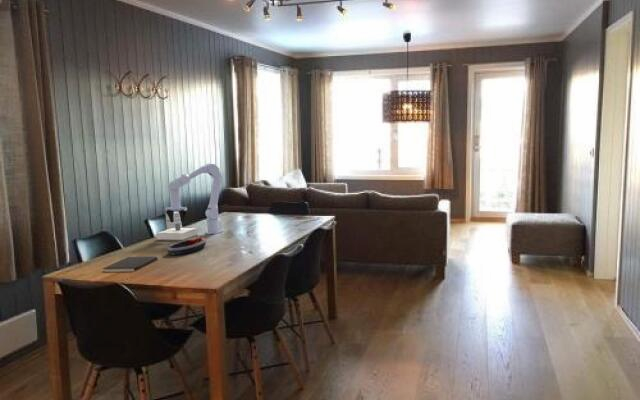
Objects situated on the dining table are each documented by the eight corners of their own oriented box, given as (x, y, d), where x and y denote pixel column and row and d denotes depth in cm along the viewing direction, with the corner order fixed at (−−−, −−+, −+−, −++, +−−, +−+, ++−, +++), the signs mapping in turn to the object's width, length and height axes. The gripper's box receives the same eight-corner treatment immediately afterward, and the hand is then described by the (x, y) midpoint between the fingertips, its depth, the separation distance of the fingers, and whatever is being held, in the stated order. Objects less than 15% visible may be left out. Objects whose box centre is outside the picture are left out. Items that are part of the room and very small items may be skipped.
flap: (172, 228, 343) (172, 221, 342) (196, 228, 336) (196, 221, 336) (165, 230, 335) (164, 223, 335) (189, 231, 329) (188, 224, 328)
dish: (158, 256, 281) (157, 247, 280) (193, 244, 309) (192, 235, 309) (183, 257, 275) (182, 247, 275) (216, 245, 303) (215, 236, 303)
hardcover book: (103, 273, 252) (102, 268, 252) (128, 261, 274) (128, 257, 274) (134, 272, 249) (134, 267, 249) (157, 260, 272) (157, 256, 271)
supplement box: (166, 231, 359) (164, 213, 357) (173, 229, 366) (171, 211, 364) (175, 231, 356) (174, 213, 355) (182, 229, 363) (180, 211, 361)
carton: (173, 235, 343) (172, 228, 343) (197, 235, 337) (196, 228, 336) (157, 240, 328) (156, 232, 328) (182, 240, 322) (181, 233, 321)
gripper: (161, 201, 330) (163, 223, 331) (181, 201, 325) (183, 223, 326) (168, 199, 336) (170, 221, 338) (188, 199, 331) (190, 221, 333)
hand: (177, 222), depth 332 cm, fingers open, 7 cm apart
